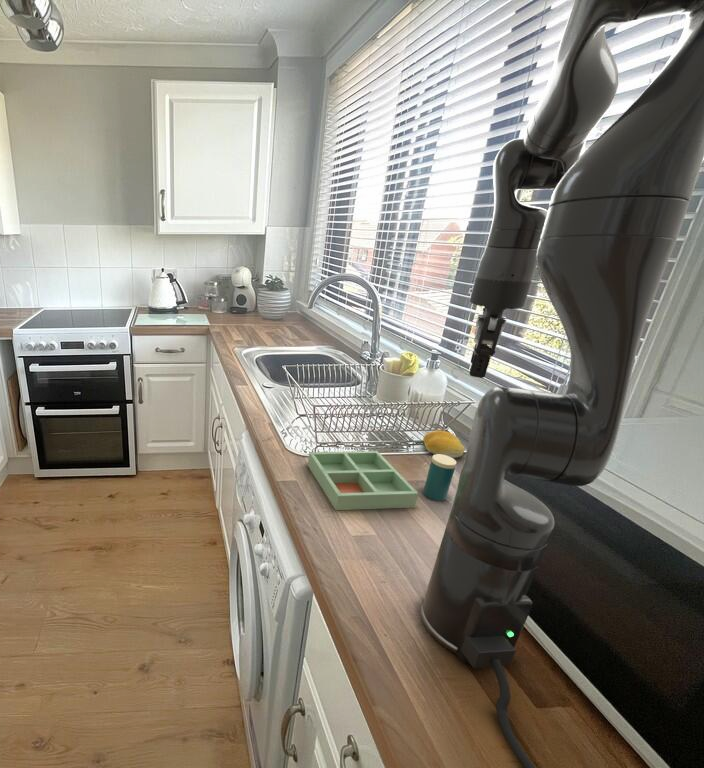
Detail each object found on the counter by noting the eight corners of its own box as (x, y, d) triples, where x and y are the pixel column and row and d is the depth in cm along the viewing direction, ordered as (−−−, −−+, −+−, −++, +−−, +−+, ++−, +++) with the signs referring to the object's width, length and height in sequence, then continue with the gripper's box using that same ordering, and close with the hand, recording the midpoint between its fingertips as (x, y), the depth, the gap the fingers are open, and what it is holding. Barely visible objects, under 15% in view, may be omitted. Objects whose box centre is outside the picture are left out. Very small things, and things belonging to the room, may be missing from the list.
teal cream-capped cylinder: (450, 500, 80) (461, 464, 77) (431, 501, 79) (441, 465, 76) (437, 488, 83) (447, 453, 81) (418, 488, 83) (428, 454, 80)
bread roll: (428, 456, 95) (431, 441, 94) (419, 438, 103) (423, 424, 102) (468, 462, 93) (473, 447, 91) (456, 444, 101) (460, 429, 99)
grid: (415, 507, 77) (418, 493, 76) (335, 510, 76) (338, 495, 75) (374, 463, 92) (377, 450, 91) (307, 465, 90) (309, 452, 89)
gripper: (536, 282, 60) (504, 386, 66) (528, 275, 71) (501, 364, 77) (475, 278, 64) (450, 376, 70) (477, 271, 75) (454, 357, 81)
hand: (476, 370), depth 73 cm, fingers open, 8 cm apart
